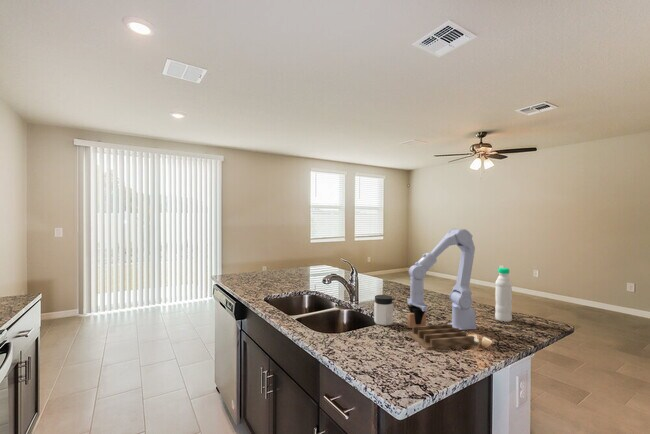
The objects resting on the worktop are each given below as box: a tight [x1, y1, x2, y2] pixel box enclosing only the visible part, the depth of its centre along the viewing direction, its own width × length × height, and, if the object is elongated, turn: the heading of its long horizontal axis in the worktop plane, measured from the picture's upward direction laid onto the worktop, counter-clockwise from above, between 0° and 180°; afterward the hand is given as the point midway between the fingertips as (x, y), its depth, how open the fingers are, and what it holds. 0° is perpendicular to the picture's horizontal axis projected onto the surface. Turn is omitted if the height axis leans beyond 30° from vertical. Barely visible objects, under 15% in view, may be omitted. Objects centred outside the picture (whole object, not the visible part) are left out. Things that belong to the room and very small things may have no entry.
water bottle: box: [494, 267, 513, 323], centre depth 152 cm, size 7×7×25 cm
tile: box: [406, 312, 427, 329], centre depth 140 cm, size 8×2×6 cm, turn 102°
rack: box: [407, 323, 480, 350], centre depth 126 cm, size 22×15×3 cm
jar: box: [373, 294, 394, 326], centre depth 146 cm, size 9×8×12 cm
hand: (416, 322), depth 140 cm, fingers closed on tile, 2 cm apart
